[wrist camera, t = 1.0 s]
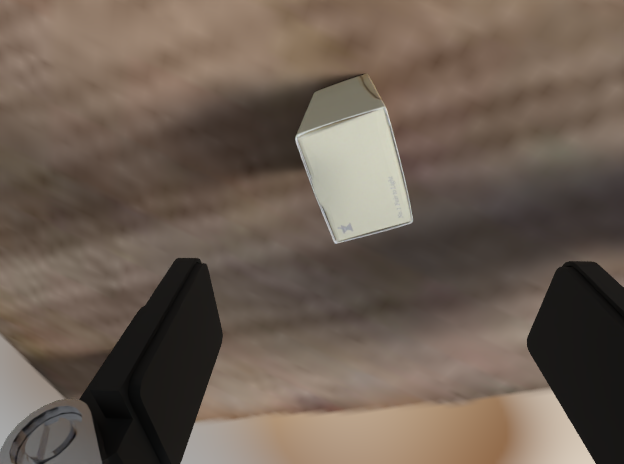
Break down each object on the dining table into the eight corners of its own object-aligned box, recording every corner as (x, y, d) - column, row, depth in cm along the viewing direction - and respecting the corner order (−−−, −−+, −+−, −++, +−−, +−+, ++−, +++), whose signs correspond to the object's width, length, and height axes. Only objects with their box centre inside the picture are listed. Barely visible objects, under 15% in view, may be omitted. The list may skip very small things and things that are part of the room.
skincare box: (386, 150, 28) (418, 227, 17) (333, 166, 29) (334, 248, 18) (366, 68, 25) (391, 102, 14) (308, 90, 26) (291, 136, 15)
